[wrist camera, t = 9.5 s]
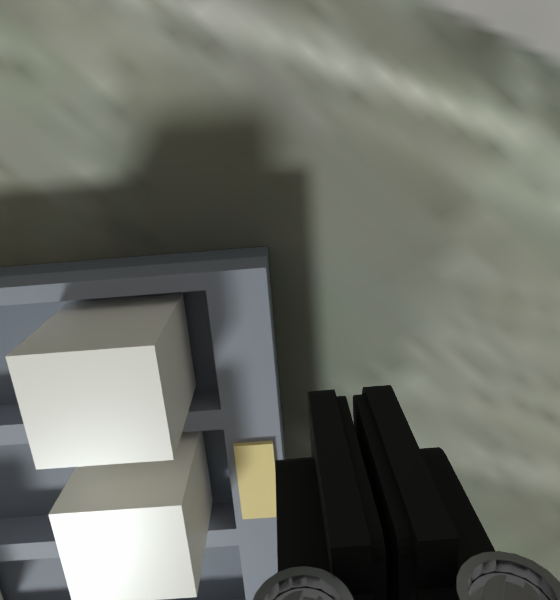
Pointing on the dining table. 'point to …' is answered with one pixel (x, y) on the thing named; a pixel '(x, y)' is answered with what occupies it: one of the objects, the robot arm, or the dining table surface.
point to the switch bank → (201, 417)
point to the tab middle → (136, 526)
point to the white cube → (106, 382)
